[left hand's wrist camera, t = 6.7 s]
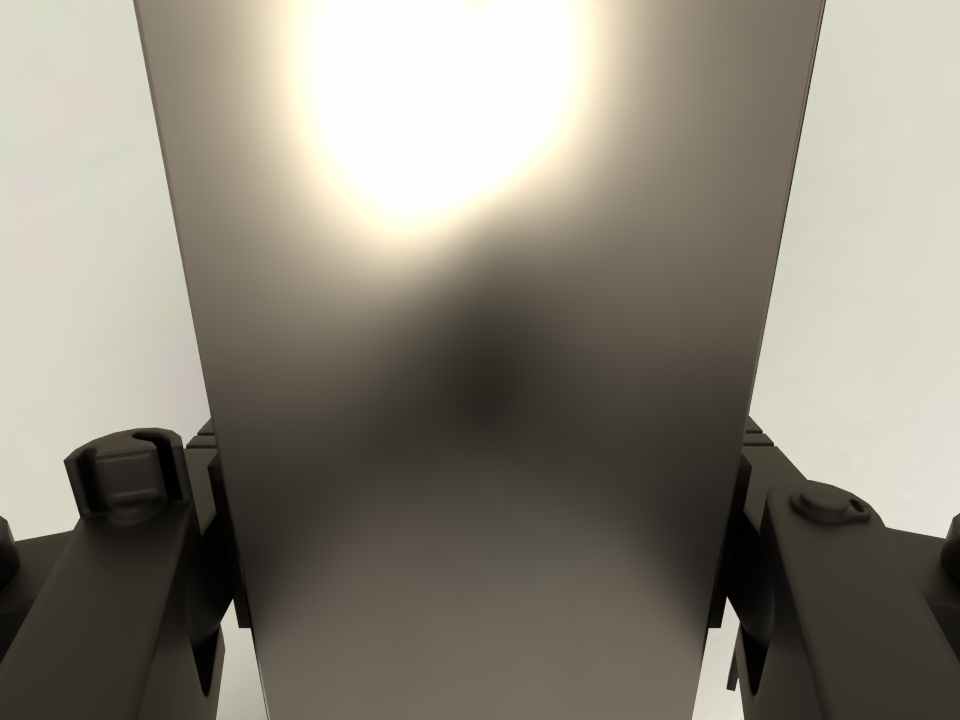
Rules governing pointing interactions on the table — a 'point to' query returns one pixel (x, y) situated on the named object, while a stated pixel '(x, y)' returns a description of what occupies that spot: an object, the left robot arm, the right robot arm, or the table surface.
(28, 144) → the table surface
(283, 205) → the bar
